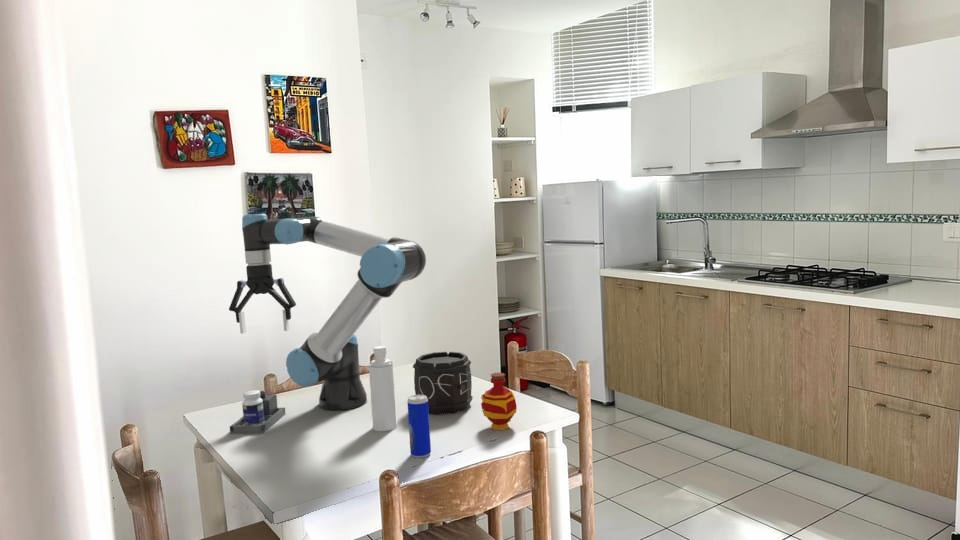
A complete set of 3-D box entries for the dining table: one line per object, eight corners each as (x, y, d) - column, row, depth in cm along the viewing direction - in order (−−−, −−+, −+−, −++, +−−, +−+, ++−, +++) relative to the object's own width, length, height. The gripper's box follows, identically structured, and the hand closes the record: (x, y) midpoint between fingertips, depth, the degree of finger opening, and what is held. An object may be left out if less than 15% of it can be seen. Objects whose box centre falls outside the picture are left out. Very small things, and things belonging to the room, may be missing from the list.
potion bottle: (522, 421, 195) (520, 370, 194) (512, 434, 186) (510, 380, 184) (487, 419, 199) (485, 369, 197) (476, 431, 189) (473, 378, 187)
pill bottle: (240, 428, 199) (237, 394, 198) (250, 421, 205) (247, 389, 204) (258, 428, 198) (255, 395, 197) (268, 422, 204) (265, 389, 202)
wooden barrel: (440, 420, 200) (437, 367, 198) (404, 408, 213) (401, 358, 212) (485, 406, 212) (483, 356, 210) (449, 395, 225) (447, 348, 224)
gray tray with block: (285, 414, 213) (283, 387, 212) (263, 433, 196) (261, 403, 195) (254, 414, 214) (252, 387, 213) (230, 433, 197) (227, 404, 196)
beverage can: (410, 451, 176) (407, 395, 175) (430, 450, 177) (427, 393, 175) (410, 459, 171) (406, 400, 170) (431, 457, 172) (427, 399, 170)
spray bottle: (390, 432, 192) (385, 344, 189) (369, 430, 194) (363, 344, 191) (400, 424, 198) (395, 339, 196) (379, 423, 200) (373, 339, 197)
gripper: (302, 260, 216) (307, 326, 218) (223, 265, 216) (229, 331, 218) (295, 262, 208) (301, 331, 210) (213, 267, 208) (220, 336, 210)
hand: (265, 331), depth 214 cm, fingers open, 13 cm apart
